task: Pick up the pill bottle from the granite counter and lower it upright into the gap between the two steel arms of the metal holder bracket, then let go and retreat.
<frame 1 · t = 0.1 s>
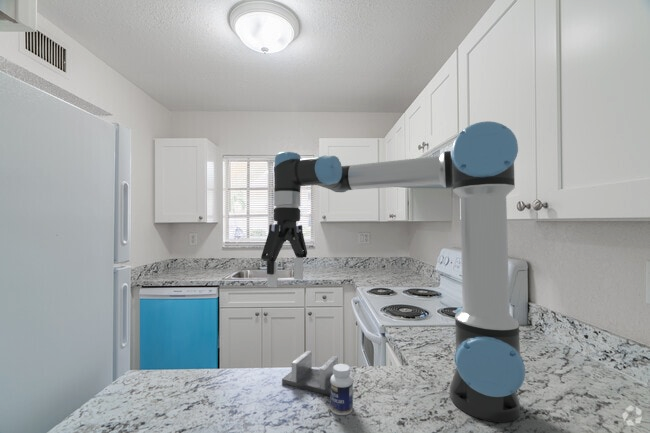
hand: (286, 282, 82), 28 cm above the countertop, fingers open, 13 cm apart
holder: (315, 383, 81), on the countertop
pill bottle: (341, 410, 69), on the countertop
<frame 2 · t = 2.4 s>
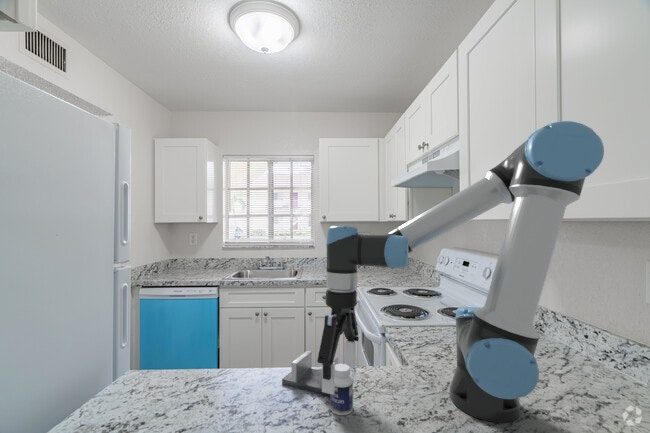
hand: (339, 378, 70), 7 cm above the countertop, fingers open, 13 cm apart
nothing on the countertop moved.
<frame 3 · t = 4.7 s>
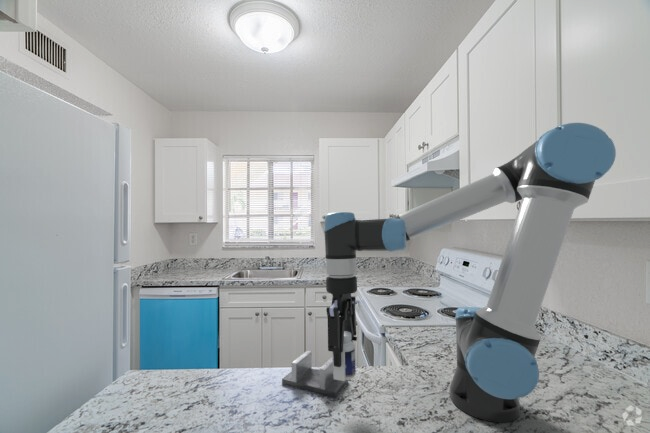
hand: (344, 373, 69), 8 cm above the countertop, fingers closed on pill bottle, 5 cm apart
pill bottle: (344, 375, 69), point 8 cm above the countertop, touching gripper
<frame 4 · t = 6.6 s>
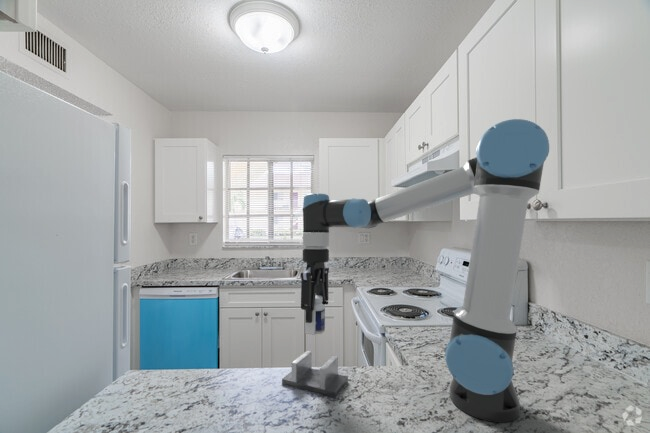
hand: (315, 330, 82), 14 cm above the countertop, fingers closed on pill bottle, 5 cm apart
pill bottle: (315, 332, 82), point 14 cm above the countertop, touching gripper
when the fingers open (3 cm above the countertop, at t = 8.8 s): pill bottle stays where it is, resting on holder.
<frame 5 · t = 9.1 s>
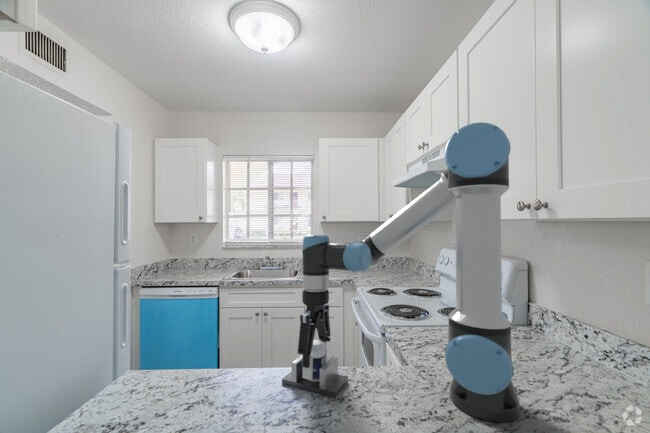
hand: (315, 370, 81), 3 cm above the countertop, fingers open, 8 cm apart
pill bottle: (315, 378, 81), point 1 cm above the countertop, touching holder
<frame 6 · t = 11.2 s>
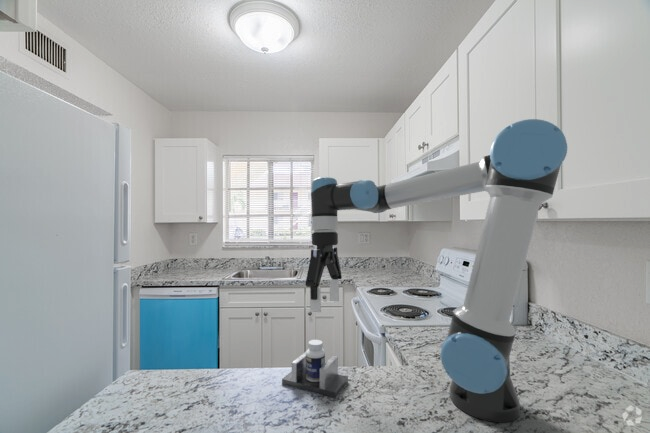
hand: (325, 306, 83), 21 cm above the countertop, fingers open, 13 cm apart
nothing on the countertop moved.
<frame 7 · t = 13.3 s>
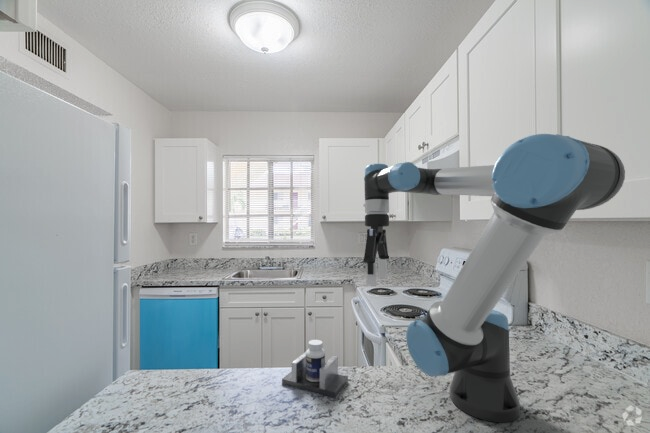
hand: (377, 282, 90), 27 cm above the countertop, fingers open, 13 cm apart
nothing on the countertop moved.
at the end: pill bottle inside the target area on the holder (0.0 cm from its centre), point 1.3 cm above the holder's base; pill bottle tilted 0°; the gripper is holding nothing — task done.
